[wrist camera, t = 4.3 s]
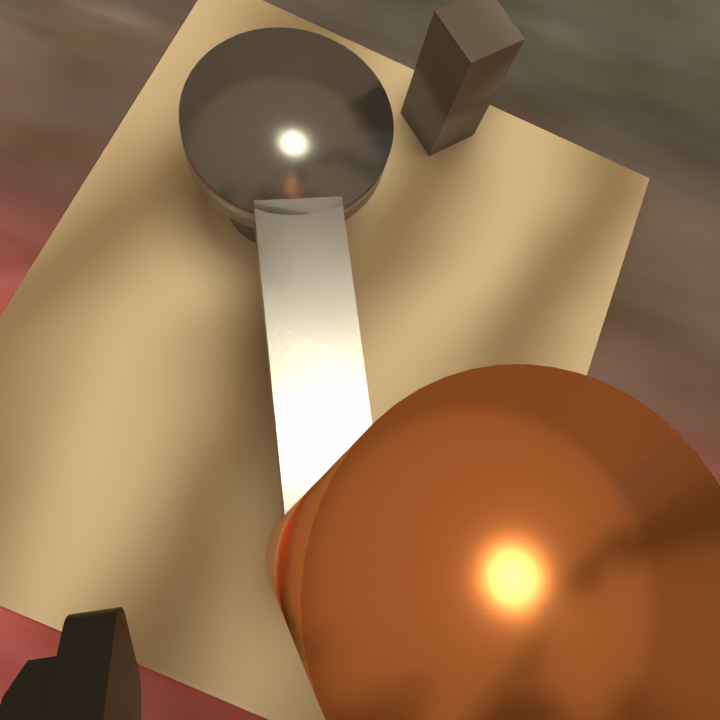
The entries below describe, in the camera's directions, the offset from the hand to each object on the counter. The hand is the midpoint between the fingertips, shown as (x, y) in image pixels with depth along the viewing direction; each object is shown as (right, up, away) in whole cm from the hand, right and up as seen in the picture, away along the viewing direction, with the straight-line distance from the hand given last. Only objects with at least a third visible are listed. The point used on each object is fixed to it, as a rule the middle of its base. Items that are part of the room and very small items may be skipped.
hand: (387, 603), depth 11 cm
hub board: (-2, +5, +12) cm, 13 cm away
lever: (-2, +4, +11) cm, 12 cm away
